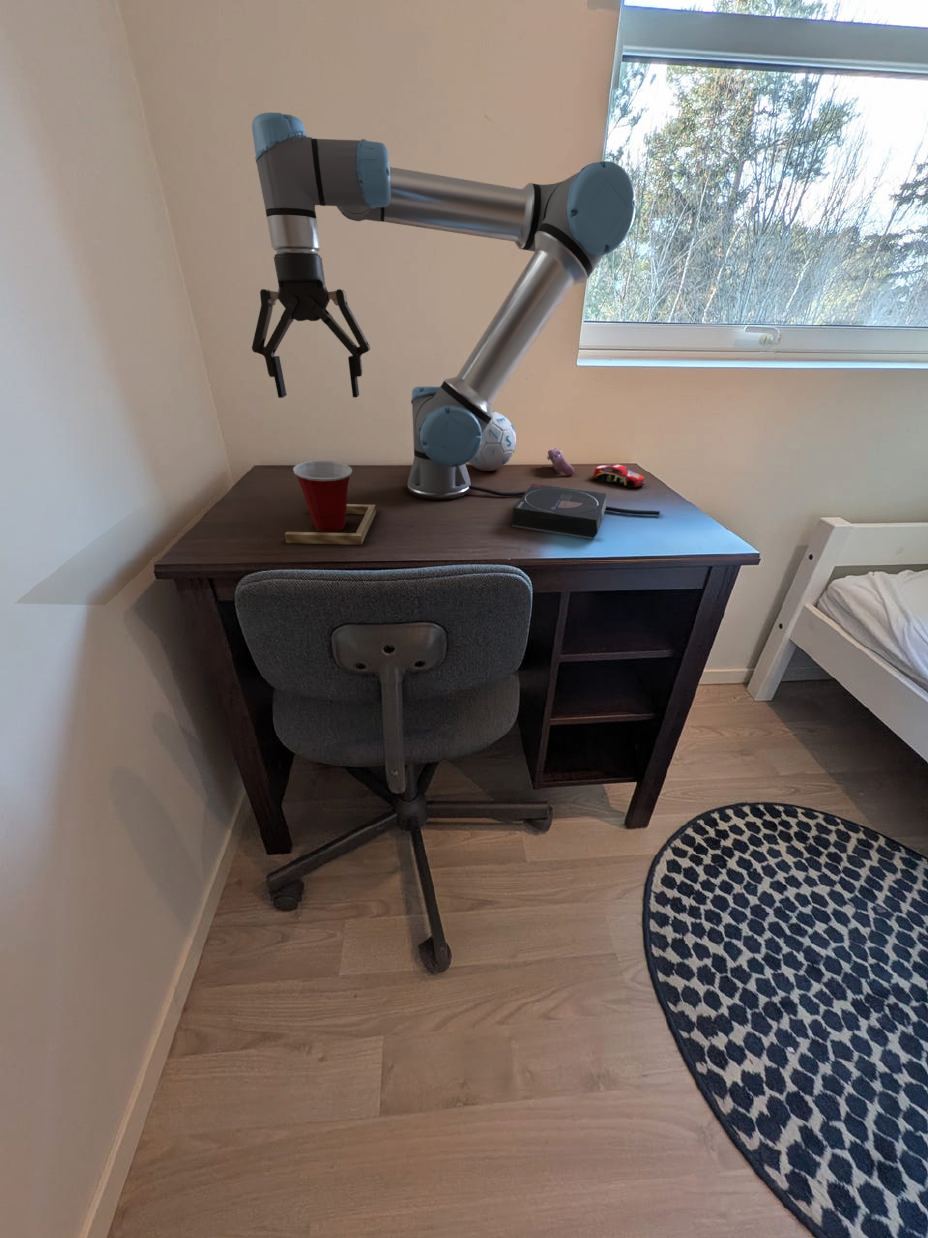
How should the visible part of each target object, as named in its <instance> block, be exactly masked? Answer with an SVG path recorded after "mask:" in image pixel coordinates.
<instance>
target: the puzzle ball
mask: <svg viewBox="0 0 928 1238" xmlns="http://www.w3.org/2000/svg"><path fill="white" fill-rule="evenodd" d="M492 412H493V418H492V419H491V421H490V422H489V424H488V425H487V427H486V428H485V430H484V431H483V433H482V440H481V444H480V447H479V450H478V452H477V453H476V455H475V456H474V457H473V458H472V459H471V460H470V461H469V462H468V464H470V465H471V466H472V467H474V468H475V469H477V470H478V471H482V472H492V471H496V470H498V469H500V468H502V467H503V466H505V465H506V464H507V463H508V462H509V461H510V460H511V458H512V457H513V455H514V453H515V449H516V443H517V434H516V431H515V428H514V425H513V423H511V421H510V420H509V419H508V418H507V417H506V416H505V415H503V414H502V413H500V412H497V411H494V410H492Z"/></svg>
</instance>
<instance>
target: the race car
mask: <svg viewBox="0 0 928 1238" xmlns="http://www.w3.org/2000/svg"><path fill="white" fill-rule="evenodd" d="M593 477H594V478H595V479H597V480H599V482H601V483H602V482H609V483H613V484H618V485H621V486H627V488H629V489H632V488H634V487H635V488H638V487H642V486H644V485H645V483H646V480H645V477H644V476H643V475H641V474H639V473H637V472H634V471H632V469H631V468H628V467H627V466H624V465H621V464H614V463H610V464H601V465H598V466H597V467H596V468H595V470H594V471H593Z"/></svg>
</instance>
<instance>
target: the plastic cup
mask: <svg viewBox="0 0 928 1238" xmlns="http://www.w3.org/2000/svg"><path fill="white" fill-rule="evenodd" d="M292 470H293V473H294V475H295V476H296V478H297V480H298V483H299V485H300V488H301V490H302V493H303V496H304V499H305V502H306V505H307V509H308V513H309V512H310V513H309V514H310V516H311V518H312V519H311V520H312V522H313V525H314V527H315V529H316V530H317V531H318V532H320V533H336V532H338V531H341V530H343V529H344V528H345V526H346V517H347V516H346V515H347V514H346V507H347V504H348V490H349V489H348V488H349V482H350V477H351V476H352V474H353V469H352V467H351V466H349V465H347V464H345V463H342V462H338V461H331V460H310V461H309V460H308V461H304V462H301V463H298V464H295V465H294V466H293V468H292Z"/></svg>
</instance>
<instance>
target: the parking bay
mask: <svg viewBox="0 0 928 1238" xmlns="http://www.w3.org/2000/svg"><path fill="white" fill-rule="evenodd" d="M308 513H309V514H310V512H309V511H308ZM376 514H377V505H376V504H359V503H358V504H355V503H354V504H353V503H352V504H351V503H347V507H346V515H364V516H363V518H362V520H361V522H360V523H359V526H358V528H357V529H356V531H355V532H320V531H318V532H316V531H313V532H312V531H310V532H309V531H286V532H285V533H284V538H285V542H286V544H308V545H309V544H310V545H312V544H313V545H315V544H316V545H317V544H318V545H353V546H354V545H356V546H357V545H361V546H362V545H363V542H364V540H365V538H366V536H367V534H368V531H369V529H370V527H371V525H372V522H373V521H374V518H375V516H376Z"/></svg>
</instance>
